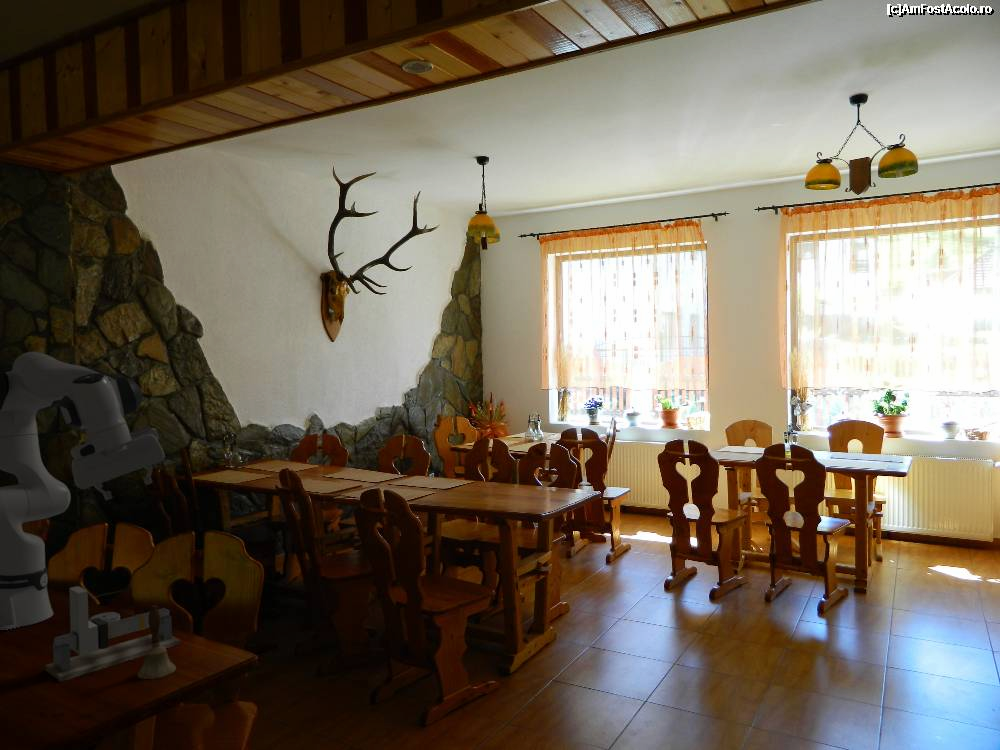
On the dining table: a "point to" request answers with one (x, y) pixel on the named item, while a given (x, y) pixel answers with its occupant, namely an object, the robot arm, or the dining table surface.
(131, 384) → the robot arm
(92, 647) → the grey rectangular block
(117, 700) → the dining table surface
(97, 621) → the dark grey rubber pad
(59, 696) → the dining table surface
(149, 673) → the hand bell
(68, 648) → the grey clamp fixture
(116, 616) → the mechanical component
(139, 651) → the base board
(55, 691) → the dining table surface
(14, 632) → the dining table surface
